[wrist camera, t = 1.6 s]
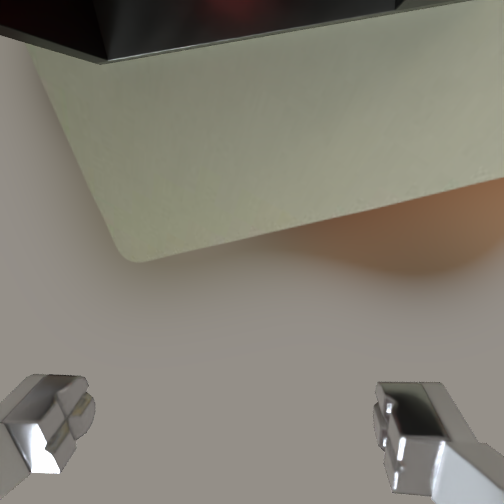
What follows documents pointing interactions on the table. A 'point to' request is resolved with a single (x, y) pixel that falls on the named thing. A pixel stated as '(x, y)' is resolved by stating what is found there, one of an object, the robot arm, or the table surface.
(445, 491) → the robot arm
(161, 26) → the toaster oven
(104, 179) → the table surface
